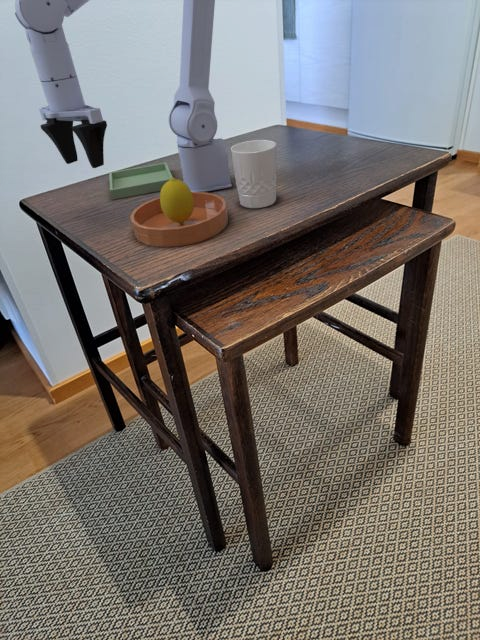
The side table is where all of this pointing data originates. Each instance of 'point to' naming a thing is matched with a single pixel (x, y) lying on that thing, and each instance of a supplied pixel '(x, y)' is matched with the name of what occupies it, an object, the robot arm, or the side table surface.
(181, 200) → the lemon
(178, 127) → the robot arm
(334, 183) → the side table surface
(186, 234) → the pan
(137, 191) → the tray
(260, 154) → the white cup
